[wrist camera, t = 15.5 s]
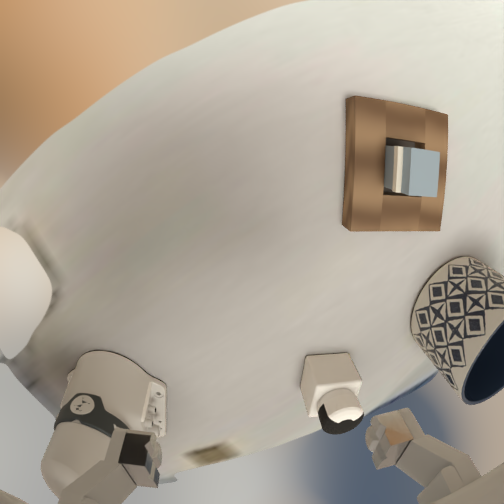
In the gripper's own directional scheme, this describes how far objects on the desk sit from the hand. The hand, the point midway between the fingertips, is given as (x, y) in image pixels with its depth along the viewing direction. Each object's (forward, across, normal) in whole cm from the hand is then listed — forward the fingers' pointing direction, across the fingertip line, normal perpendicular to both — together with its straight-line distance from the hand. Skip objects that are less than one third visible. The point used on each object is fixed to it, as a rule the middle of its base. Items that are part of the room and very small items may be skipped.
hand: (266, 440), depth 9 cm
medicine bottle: (+29, +13, -24) cm, 40 cm away
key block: (+28, +19, +8) cm, 35 cm away
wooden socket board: (+29, +20, +8) cm, 36 cm away
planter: (+29, +36, -14) cm, 48 cm away
